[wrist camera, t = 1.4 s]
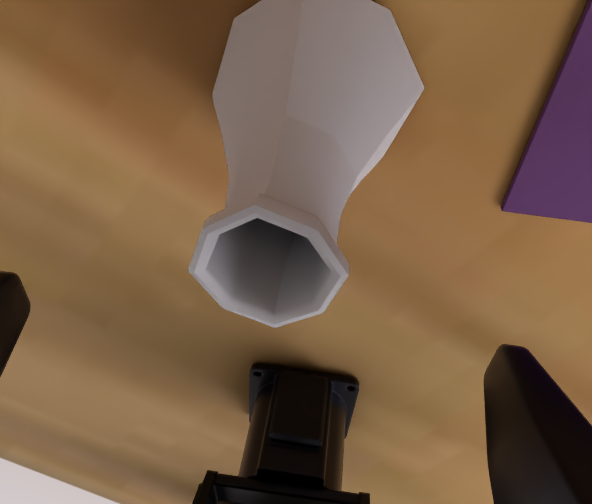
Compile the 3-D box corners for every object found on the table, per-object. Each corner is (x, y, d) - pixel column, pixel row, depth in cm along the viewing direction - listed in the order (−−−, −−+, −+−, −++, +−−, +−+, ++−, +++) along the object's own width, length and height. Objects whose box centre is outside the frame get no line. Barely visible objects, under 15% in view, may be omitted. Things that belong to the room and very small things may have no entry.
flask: (305, -83, 14) (218, -1, 7) (462, 83, 17) (529, 282, 9) (181, 92, 18) (40, 267, 11) (322, 205, 21) (289, 412, 13)
